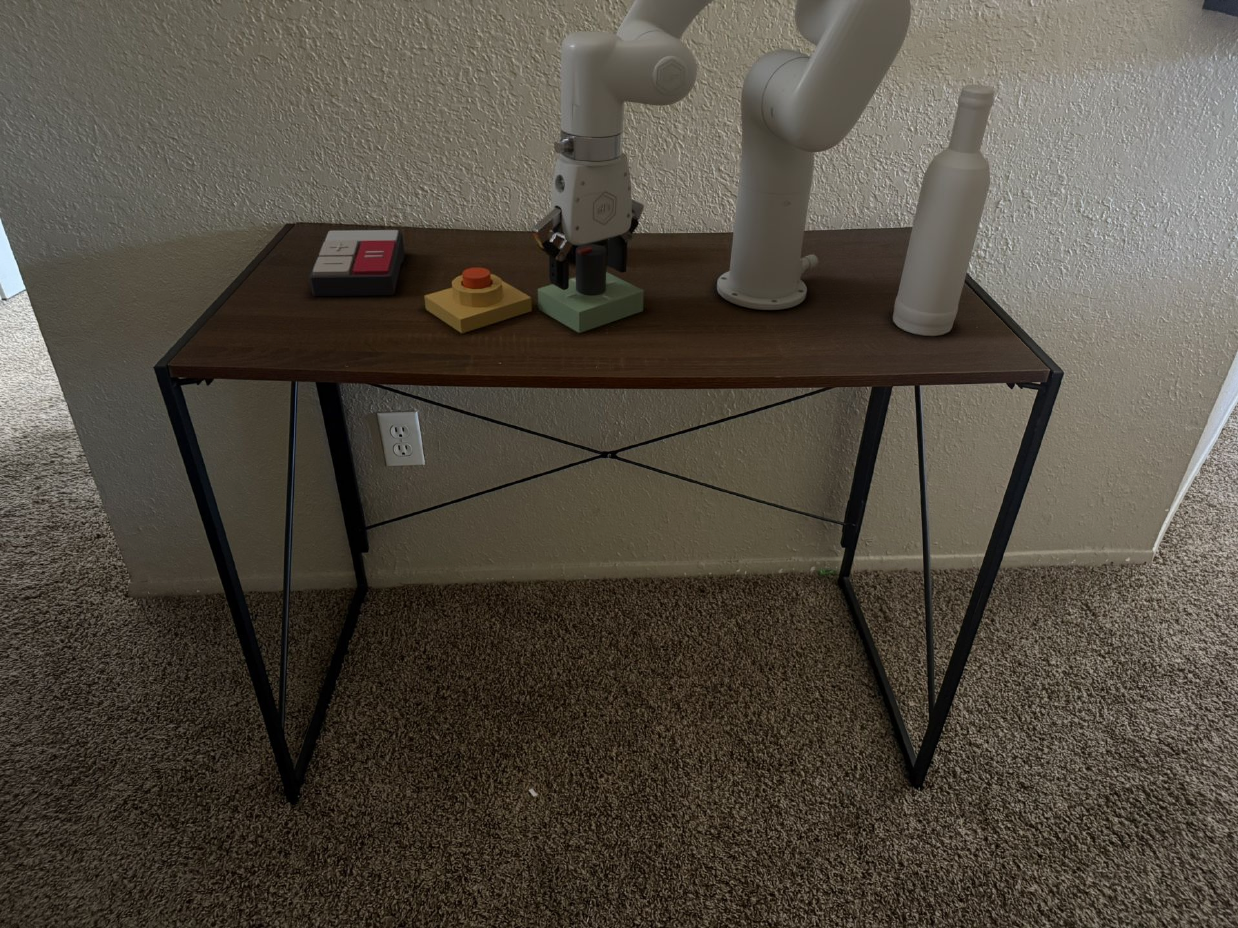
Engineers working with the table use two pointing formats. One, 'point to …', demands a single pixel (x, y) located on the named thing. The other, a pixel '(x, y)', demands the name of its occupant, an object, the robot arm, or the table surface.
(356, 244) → the calculator
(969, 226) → the bottle
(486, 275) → the button
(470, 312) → the tan flat block
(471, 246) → the table surface
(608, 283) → the dial panel
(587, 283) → the lock dial
